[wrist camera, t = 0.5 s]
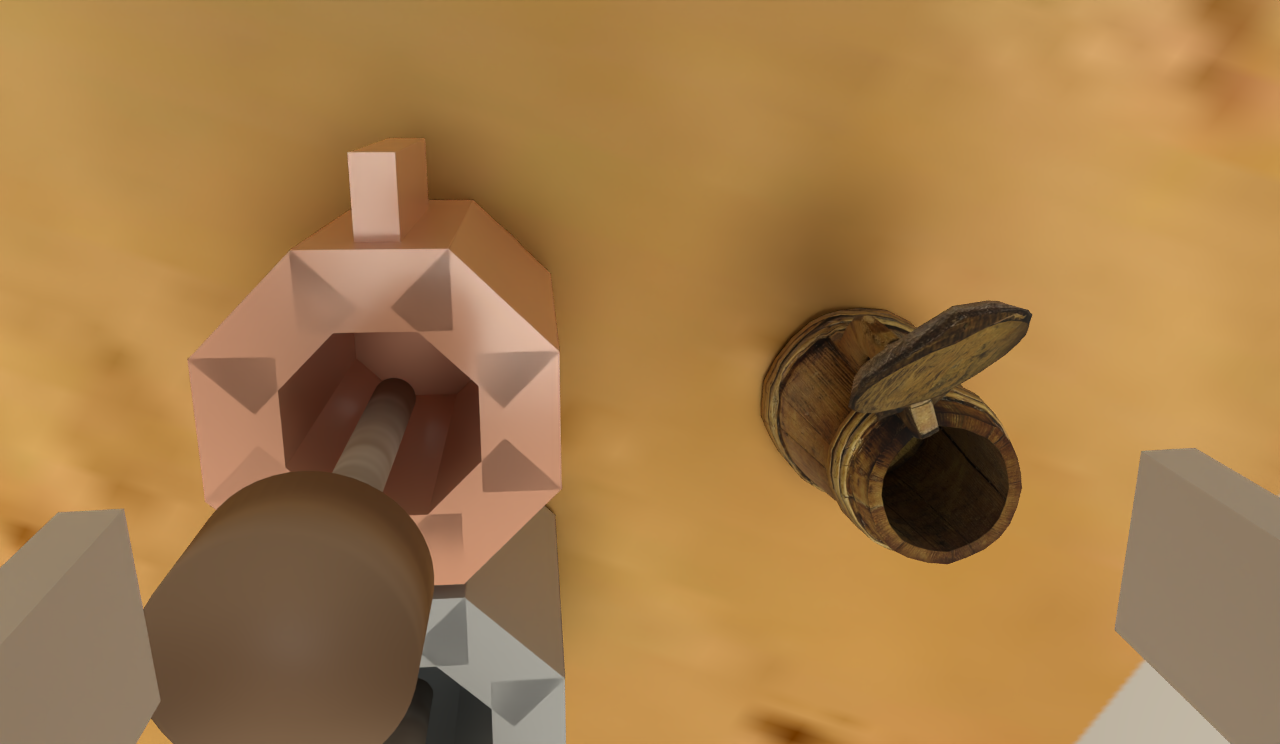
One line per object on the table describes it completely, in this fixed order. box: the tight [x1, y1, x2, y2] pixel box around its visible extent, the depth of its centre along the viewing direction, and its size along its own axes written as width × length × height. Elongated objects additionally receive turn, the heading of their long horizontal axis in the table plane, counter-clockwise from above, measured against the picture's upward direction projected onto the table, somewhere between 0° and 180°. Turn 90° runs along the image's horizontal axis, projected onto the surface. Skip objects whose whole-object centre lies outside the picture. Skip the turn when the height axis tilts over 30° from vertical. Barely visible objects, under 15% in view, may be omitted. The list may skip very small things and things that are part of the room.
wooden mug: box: [761, 301, 1032, 564], centre depth 38 cm, size 9×14×18 cm, turn 21°
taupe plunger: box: [143, 378, 434, 744], centre depth 26 cm, size 5×5×16 cm
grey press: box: [418, 506, 566, 744], centre depth 41 cm, size 14×11×14 cm
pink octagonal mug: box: [188, 138, 562, 585], centre depth 37 cm, size 14×11×14 cm
